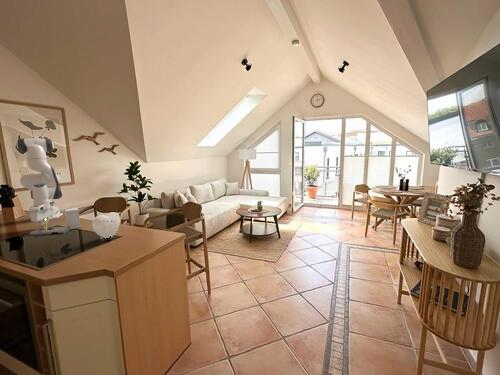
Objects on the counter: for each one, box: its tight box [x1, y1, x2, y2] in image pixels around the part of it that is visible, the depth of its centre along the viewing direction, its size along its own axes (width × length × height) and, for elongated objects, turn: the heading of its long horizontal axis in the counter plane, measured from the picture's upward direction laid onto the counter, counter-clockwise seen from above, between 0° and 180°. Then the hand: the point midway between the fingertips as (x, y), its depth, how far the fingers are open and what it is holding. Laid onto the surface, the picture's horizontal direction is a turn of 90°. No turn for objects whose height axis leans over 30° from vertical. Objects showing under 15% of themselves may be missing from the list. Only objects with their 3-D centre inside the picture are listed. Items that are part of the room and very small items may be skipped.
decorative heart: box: [91, 211, 121, 240], centre depth 161 cm, size 18×11×17 cm, turn 157°
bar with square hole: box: [28, 226, 70, 236], centre depth 173 cm, size 7×22×3 cm, turn 99°
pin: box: [41, 218, 49, 230], centre depth 179 cm, size 3×3×9 cm
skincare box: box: [64, 207, 81, 231], centre depth 183 cm, size 8×6×15 cm
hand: (44, 224), depth 179 cm, fingers closed on pin, 3 cm apart
